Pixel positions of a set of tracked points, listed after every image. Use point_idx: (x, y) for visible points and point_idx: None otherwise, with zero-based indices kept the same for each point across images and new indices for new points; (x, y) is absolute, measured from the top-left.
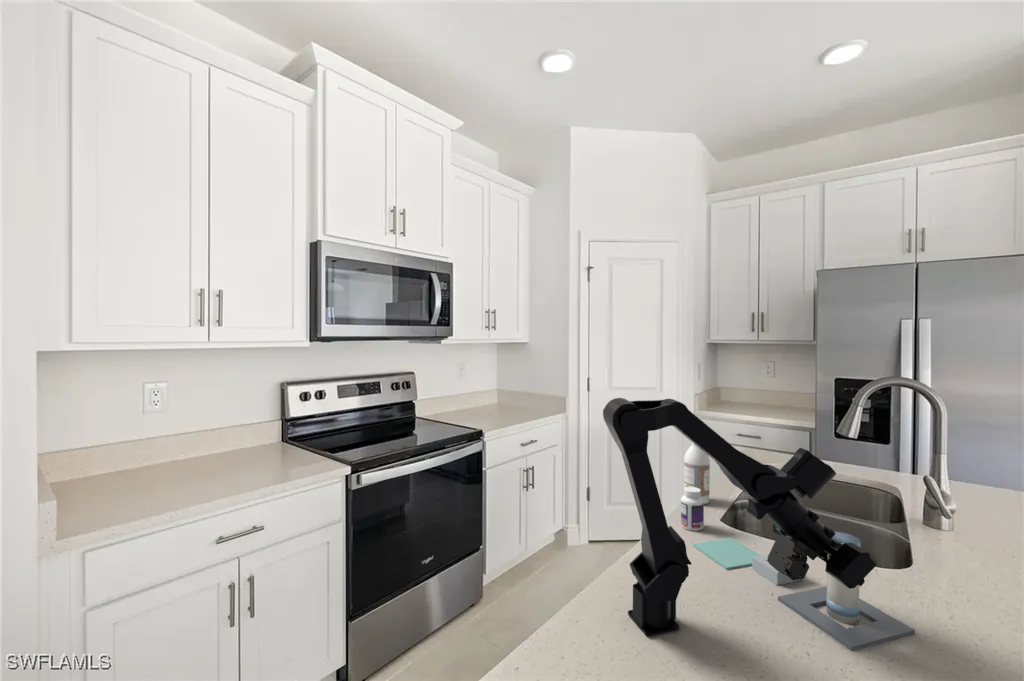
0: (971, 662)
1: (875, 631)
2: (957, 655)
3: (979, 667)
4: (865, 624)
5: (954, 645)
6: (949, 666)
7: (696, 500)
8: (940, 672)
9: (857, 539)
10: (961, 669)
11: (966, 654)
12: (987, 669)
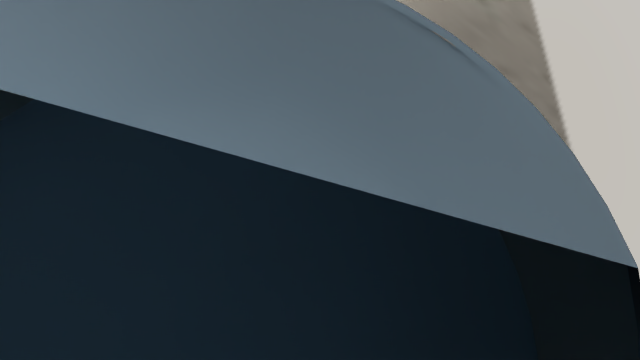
0: (496, 21)
1: None
2: (469, 35)
3: (516, 17)
4: None
5: (417, 6)
6: (532, 99)
7: None
8: (570, 149)
9: (273, 6)
10: (538, 74)
11: (458, 6)
12: (520, 2)
